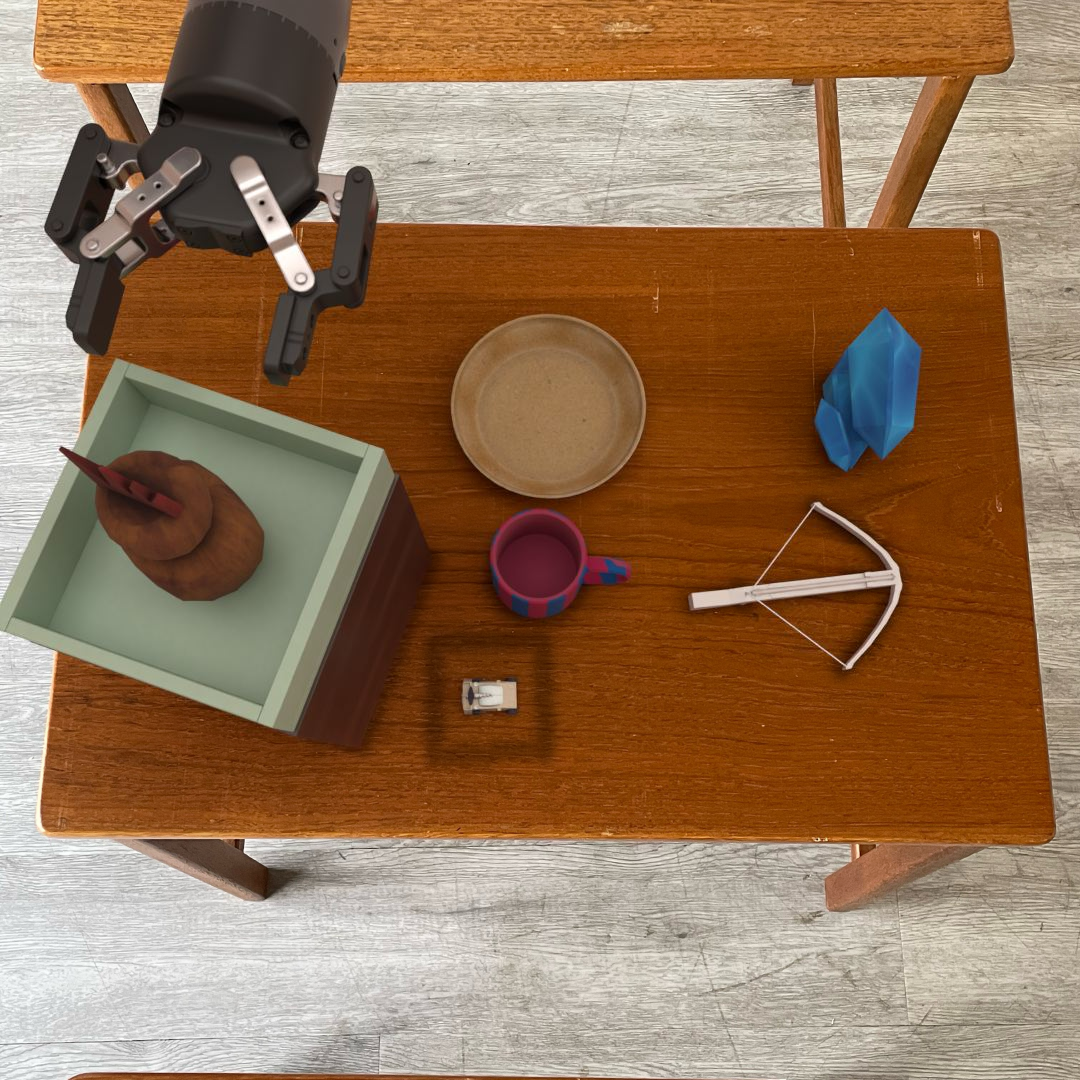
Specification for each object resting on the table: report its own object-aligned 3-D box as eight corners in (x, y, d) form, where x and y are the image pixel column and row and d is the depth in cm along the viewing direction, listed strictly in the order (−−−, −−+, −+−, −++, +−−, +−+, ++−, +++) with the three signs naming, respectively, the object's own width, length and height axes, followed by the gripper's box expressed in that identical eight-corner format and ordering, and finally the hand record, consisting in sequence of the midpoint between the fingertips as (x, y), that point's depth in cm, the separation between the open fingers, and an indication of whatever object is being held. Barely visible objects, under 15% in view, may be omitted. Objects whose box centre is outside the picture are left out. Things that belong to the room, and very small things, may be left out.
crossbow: (875, 500, 81) (886, 493, 79) (909, 662, 78) (921, 659, 76) (675, 522, 79) (681, 515, 77) (702, 688, 76) (709, 685, 74)
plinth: (167, 679, 76) (29, 641, 54) (247, 492, 79) (146, 387, 58) (359, 748, 75) (296, 737, 54) (432, 556, 78) (399, 473, 57)
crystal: (828, 468, 73) (830, 297, 73) (795, 475, 82) (798, 322, 82) (933, 469, 73) (935, 299, 73) (889, 476, 82) (892, 324, 82)
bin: (34, 639, 54) (-12, 626, 50) (148, 391, 57) (115, 357, 53) (293, 732, 54) (272, 728, 49) (395, 475, 57) (384, 449, 52)
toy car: (517, 714, 76) (517, 712, 74) (462, 715, 76) (460, 714, 74) (516, 678, 76) (516, 675, 74) (461, 679, 76) (460, 677, 74)
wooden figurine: (130, 542, 55) (-11, 457, 40) (214, 469, 56) (106, 360, 41) (214, 634, 54) (101, 580, 39) (298, 558, 55) (218, 478, 40)
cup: (503, 522, 79) (502, 499, 72) (632, 551, 79) (642, 530, 72) (483, 607, 77) (480, 591, 71) (614, 637, 77) (623, 623, 70)
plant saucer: (432, 352, 82) (429, 338, 79) (611, 308, 83) (614, 293, 80) (479, 528, 79) (478, 519, 76) (665, 479, 80) (670, 470, 77)
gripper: (85, -28, 46) (-17, 302, 43) (398, 20, 46) (322, 357, 43) (144, 81, 54) (62, 371, 50) (415, 124, 53) (351, 418, 50)
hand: (181, 364), depth 46 cm, fingers open, 8 cm apart
